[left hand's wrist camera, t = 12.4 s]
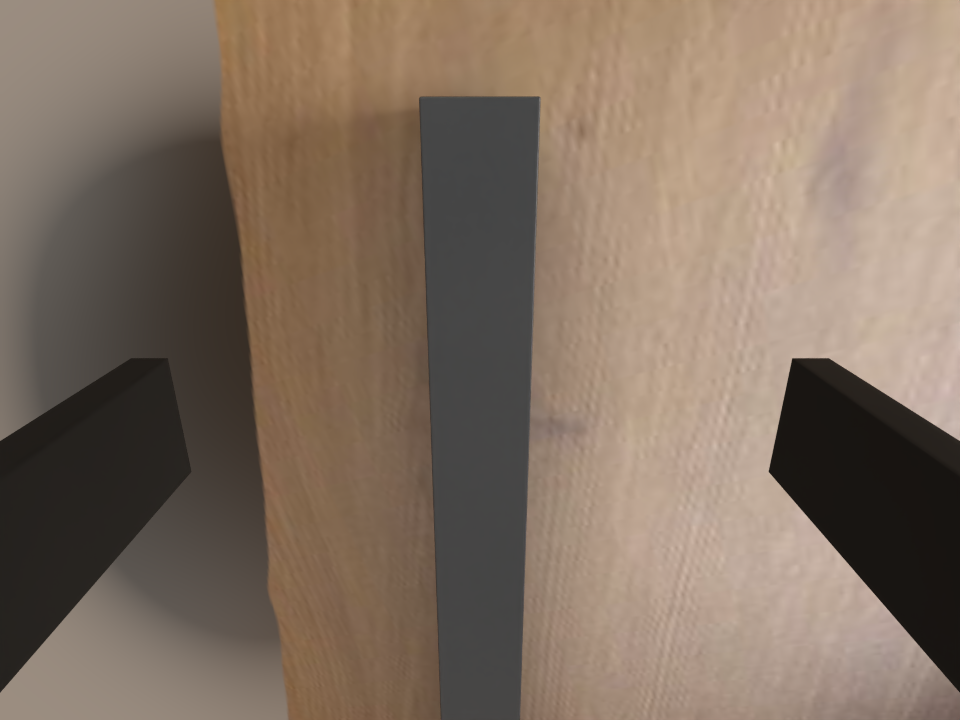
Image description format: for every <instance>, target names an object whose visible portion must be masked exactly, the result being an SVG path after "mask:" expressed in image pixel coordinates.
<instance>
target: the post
mask: <svg viewBox="0 0 960 720" xmlns="http://www.w3.org/2000/svg"><path fill="white" fill-rule="evenodd" d="M540 100H541V98H540V97H420V98H419V106H420V135H421V163H422V192H423V220H424V249H425V277H426V306H427V334H428V363H429V391H430V420H431V448H432V477H433V505H434V534H435V562H436V591H437V619H438V648H439V676H440V705H441V720H520V701H521V671H522V641H523V611H524V581H525V551H526V521H527V491H528V461H529V430H530V400H531V370H532V340H533V310H534V280H535V250H536V220H537V190H538V160H539V130H540Z"/></svg>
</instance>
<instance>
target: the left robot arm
mask: <svg viewBox="0 0 960 720" xmlns="http://www.w3.org/2000/svg"><path fill="white" fill-rule="evenodd" d="M190 473H191V468H190V463H189V458H188V454H187V449H186V444H185V439H184V435H183V430H182V425H181V420H180V415H179V411H178V406H177V401H176V396H175V391H174V387H173V382H172V377H171V372H170V367H169V363H168V359H167V358H131V359H129V360H128V361H126V362H125V363H123V364H122V365H120V366H118V367H117V368H115V369H114V370H112V371H111V372H109V373H107V374H106V375H104V376H103V377H101V378H99V379H98V380H96V381H95V382H93V383H91V384H90V385H88V386H87V387H85V388H84V389H82V390H80V391H79V392H77V393H76V394H74V395H73V396H71V397H69V398H68V399H66V400H65V401H63V402H61V403H60V404H58V405H57V406H55V407H54V408H52V409H50V410H49V411H47V412H46V413H44V414H42V415H41V416H39V417H38V418H36V419H35V420H33V421H31V422H30V423H28V424H27V425H25V426H23V427H22V428H20V429H19V430H17V431H15V432H14V433H12V434H11V435H9V436H8V437H6V438H4V439H3V440H1V441H0V692H1V691H2V690H3V689H4V688H5V686H6V685H7V684H8V683H9V682H10V681H11V679H12V678H13V677H14V676H15V675H16V674H17V673H18V671H19V670H20V669H21V668H22V667H23V666H24V664H25V663H26V662H27V661H28V660H29V659H30V657H31V656H32V655H33V654H34V653H35V652H36V651H37V649H38V648H39V647H40V646H41V645H42V644H43V643H44V641H45V640H46V639H47V638H48V637H49V636H50V634H51V633H52V632H53V631H54V630H55V629H56V627H57V626H58V625H59V624H60V623H61V622H62V621H63V619H64V618H65V617H66V616H67V615H68V614H69V612H70V611H71V610H72V609H73V608H74V607H75V605H76V604H77V603H78V602H79V601H80V600H81V599H82V597H83V596H84V595H85V594H86V593H87V592H88V591H89V589H90V588H91V587H92V586H93V585H94V584H95V582H96V581H97V580H98V579H99V578H100V577H101V575H102V574H103V573H104V572H105V571H106V570H107V569H108V567H109V566H110V565H111V564H112V563H113V562H114V560H115V559H116V558H117V557H118V556H119V555H120V553H121V552H122V551H123V550H124V549H125V548H126V547H127V545H128V544H129V543H130V542H131V541H132V540H133V539H134V537H135V536H136V535H137V534H138V533H139V532H140V530H141V529H142V528H143V527H144V526H145V525H146V523H147V522H148V521H149V520H150V519H151V518H152V517H153V515H154V514H155V513H156V512H157V511H158V510H159V508H160V507H161V506H162V505H163V504H164V503H165V502H166V500H167V499H168V498H169V497H170V496H171V495H172V493H173V492H174V491H175V490H176V489H177V488H178V487H179V485H180V484H181V483H182V482H183V481H184V480H185V478H186V477H187V476H188V475H189V474H190ZM769 473H770V474H771V475H772V476H773V477H774V478H775V480H776V481H777V482H778V483H779V484H780V485H781V487H782V488H783V489H784V490H785V491H786V492H787V493H788V495H789V496H790V497H791V498H792V499H793V500H794V502H795V503H796V504H797V505H798V506H799V507H800V508H801V510H802V511H803V512H804V513H805V514H806V515H807V517H808V518H809V519H810V520H811V521H812V522H813V523H814V525H815V526H816V527H817V528H818V529H819V530H820V532H821V533H822V534H823V535H824V536H825V537H826V539H827V540H828V541H829V542H830V543H831V544H832V545H833V547H834V548H835V549H836V550H837V551H838V552H839V554H840V555H841V556H842V557H843V558H844V559H845V560H846V562H847V563H848V564H849V565H850V566H851V567H852V569H853V570H854V571H855V572H856V573H857V574H858V575H859V577H860V578H861V579H862V580H863V581H864V582H865V584H866V585H867V586H868V587H869V588H870V589H871V591H872V592H873V593H874V594H875V595H876V596H877V597H878V599H879V600H880V601H881V602H882V603H883V604H884V606H885V607H886V608H887V609H888V610H889V611H890V612H891V614H892V615H893V616H894V617H895V618H896V619H897V621H898V622H899V623H900V624H901V625H902V626H903V627H904V629H905V630H906V631H907V632H908V633H909V634H910V636H911V637H912V638H913V639H914V640H915V641H916V643H917V644H918V645H919V646H920V647H921V648H922V649H923V651H924V652H925V653H926V654H927V655H928V656H929V658H930V659H931V660H932V661H933V662H934V663H935V664H936V666H937V667H938V668H939V669H940V670H941V671H942V673H943V674H944V675H945V676H946V677H947V678H948V679H949V681H950V682H951V683H952V684H953V685H954V686H955V688H956V689H957V690H958V691H959V692H960V441H959V440H957V439H956V438H954V437H952V436H951V435H949V434H948V433H946V432H945V431H943V430H941V429H940V428H938V427H937V426H935V425H933V424H932V423H930V422H929V421H927V420H926V419H924V418H922V417H921V416H919V415H918V414H916V413H914V412H913V411H911V410H910V409H908V408H907V407H905V406H903V405H902V404H900V403H899V402H897V401H895V400H894V399H892V398H891V397H889V396H888V395H886V394H884V393H883V392H881V391H880V390H878V389H876V388H875V387H873V386H872V385H870V384H869V383H867V382H865V381H864V380H862V379H861V378H859V377H857V376H856V375H854V374H853V373H851V372H850V371H848V370H846V369H845V368H843V367H842V366H840V365H838V364H837V363H835V362H834V361H832V360H831V359H829V358H792V363H791V367H790V372H789V377H788V382H787V387H786V391H785V396H784V401H783V406H782V411H781V415H780V420H779V425H778V430H777V434H776V439H775V444H774V449H773V454H772V458H771V463H770V468H769Z"/></svg>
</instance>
